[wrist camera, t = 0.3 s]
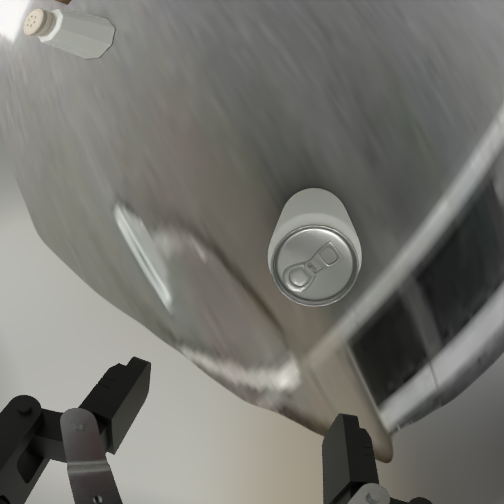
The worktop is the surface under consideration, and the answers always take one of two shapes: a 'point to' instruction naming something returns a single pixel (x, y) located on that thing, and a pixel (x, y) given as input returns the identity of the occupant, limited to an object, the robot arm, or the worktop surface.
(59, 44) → the pepper shaker
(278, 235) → the can
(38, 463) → the robot arm
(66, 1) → the socket block
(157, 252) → the worktop surface
